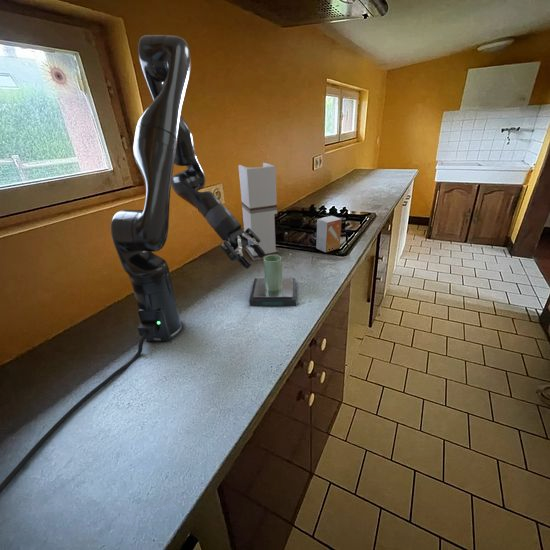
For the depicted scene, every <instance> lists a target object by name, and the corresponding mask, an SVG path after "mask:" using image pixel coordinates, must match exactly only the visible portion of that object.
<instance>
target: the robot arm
mask: <svg viewBox="0 0 550 550" xmlns="http://www.w3.org/2000/svg"><path fill="white" fill-rule="evenodd" d="M137 52H138V59H139V63H140V67H141V70H142V73H143V76H144V79H145V82H146V85H147V88H148V90H149V92H150V95H151V98H152V100H153V101H152V102H151V103H150V104H149V105H148V106H147V107H146V108H145V110H144V111H143V112H142V113H141V115H140V117H139V118H138V120H137V123H136V126H135V132H134V138H133V145H132V153H133V154H132V155H133V157H134V160H135V163H136V166H137V168H138V170H139V172H140V174H141V177H142V179H143V181H144V185H145V186H144V187H145V200H144V205H143V206H144V207H143V209H121V210H119V211H117V212H115V214H114V215H113V216H112V218H111V222H110V236H111V239H112V243H113V246H114V248H115V251H116V253H117V257H118V259H119V261H120V264H121V267H122V269H123V270H124V272H125V273H126V274H127V275H128V277H129V280H130V285H131V288H132V291H133V295H134V299H135V302H136V305H137V308H138V310H137V314H138V317H139V321H140V324H139V325H138V326H137V332H138V335H139V337H141V338H140V340H139V343H138V349H137V352H136V353H135V355H134V356H133V357H132V358H131V359H130V360H129V361H128V362H126V363H125V364H124V365H122V366H120V368H118V369H117V370H115V371H114V372H113V373H112V374H110V375H109V376H108V377H107V378H105V380H103V381H102V382H100V384H98V385H97V386H96V387H94V388H93V389H92V390H91V391H90V392H88V393H87V394H86V395H85V396H83V397H82V398H81V399H80V400H79V401H78V402H77V403H75V405H73V406H72V407H71V408H70V409H69V410H68V411H67V412H66V413H65V414H63V416H62V417H61V418H60V419H59V420H58V421H57V422H56V423H55V424H54V425H53V426H52V427H51V428H50V429H49V430H48V431H47V432H46V433H45V434H44V435H43V436H42V437H41V439H39V441H37V443H36V444H35V445H34V446H33V447H32V448H31V449H30V450H29V452H28V453H27V454H26V455H25V456H24V457H23V458H22V459H21V461H20V462H19V463H18V464H17V465H16V466H15V467H14V468H13V469H12V471H11V472H10V473H9V474H8V475H7V476H6V478H5V479H4V480H2V482H1V483H0V494H1V493H2V492H3V491H4V489H5V488H6V487H7V486H8V485H9V484H11V482H12V481H13V479H14V478H15V477H16V476H17V475H18V474H19V473H20V472H21V470H22V469H23V468H24V467H25V466H26V465H27V463H28V462H29V461H30V460H31V459H32V457H33V456H34V455H35V454H36V452H38V450H39V449H40V448H41V447H42V446H43V445H44V444H45V443H46V442H47V441H48V439H50V437H52V436H53V434H54V433H56V431H57V430H58V429H59V428H60V427H61V426H62V425H63V424H64V423H65V422H66V421H67V420H68V419H69V418H70V417H71V416H72V415H73V414H74V413H75V412H76V411H77V410H78V409H79V408H80V407H81V406H83V405H84V404H85V403H86V402H87V401H88V400H89V399H90V398H91V397H93V396H94V395H95V394H96V393H97V392H99V391H100V390H101V389H102V388H104V387H105V386H106V385H107V384H109V383H110V382H111V381H112V380H113V379H114V378H116V377H117V376H118V375H120V374H121V373H122V372H123V371H125V370H126V369H128V368H129V367H130V366H131V365H132V364H133V363H134V362H136V360H137V359H139V357H140V356H141V354H142V352H143V347H144V346H143V345H144V343H145V340H146V342H170V341H171V339H172V338H174V337H176V336H177V335H179V333H180V332H181V331H182V329H183V324H182V321H181V316H180V313H179V307H178V303H177V299H176V295H175V290H174V287H173V281H172V277H171V272H170V268H169V264H168V262H167V260H166V259H165V258H163V257H161V256H159V255H157V254H156V253H154V252H159V251H160V250H162V249H163V248H164V247H165V245H166V242H167V240H168V236H169V235H168V234H169V225H170V205H171V202H170V201H171V190H173V191H174V193H175V194H176V195H177V196H178V197H179V198H181V199H183V200H184V201H185V202H187V204H189V205H191V206H192V207H194V208H195V209H196V210H197V211H198V212H199V214H201V215H202V216H203V217H204V219H205V221H206V223H208V225H209V227H211V228H212V230H213V231H214V232H215V234H217V235H218V237H219V238H220V239H221V240H222V241H223V242H222V243H221V245H220V248H221V249H222V251H223V252H224V253H225V254H226V255H227V257H228V258H229V260H230V261H232V262H234V261H238V262H239V263H240V264H241V265H242V267H243V268H245V269H249V268H250V267H251V266H252V263H251V262H250V261H249V259H248V258H247V257H246V256H245V255H244V253H243V248H246V247H250V248H252V249H254V251H255V252H256V253H257V255H258V256H259V257H260V258H262V257H263V256H264V255H265V252H264V251H263V250H262V249H261V247H260V246H259V242H260V239H259V238H258V237H257V236H256V235H255V234H254V233H253V231H252V230H251V229H250V228H247V229H246V230H245V231H244V229H242V224H241V222H239V220H238V219H237V218H236V217H235V216H234V214H232V212H231V211H230V210H229V209H228V208H227V207H226V206H225V205H224V204H223V203H222V202H221V201H220V199H219V198H218V197H217V196H216V195H215V194H214V193H213V192H212V191H211V190H209V191H208V190H206V191H201V190H202V189H204V187H205V185H206V175H205V173H204V171H203V169H202V166H201V164H200V162H199V160H198V158H197V155H196V150H195V144H194V139H193V138H194V137H193V134H192V131H191V129H190V127H189V125H188V123H187V122H186V120H185V119H184V118H183V116H182V110H183V106H184V101H185V98H186V93H187V88H188V85H189V81H190V76H191V68H192V55H191V50H190V47H189V44H188V42H187V41H186V40H185V39H184V38H183V37H181V36H177V35H169V34H144V35H142V36H141V37H140V38H139V41H138V44H137ZM174 165H176V166H178V167H186V169H185V170H182V171H180V172H178V173H175V174H174V175H173V173H174V167H175V166H174ZM253 238H254V239H255V240H256V241H255V240H254V239H253ZM252 244H253V245H252Z"/></svg>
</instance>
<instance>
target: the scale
mask: <svg viewBox="0 0 550 550" xmlns="http://www.w3.org/2000/svg"><path fill="white" fill-rule="evenodd" d="M296 281H297V279H296V277H282V288H281V289H280V290H277V291H269V290H267V289H266V288H265V277H255V278H254V280H253V284H252V286H251V287H252V288H251V293H250V296H249V300H248V301H249V306H250V307H278V306H279V307H282V306H283V307H290V306H291V307H295V306H297V282H296Z"/></svg>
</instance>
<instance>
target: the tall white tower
mask: <svg viewBox="0 0 550 550" xmlns="http://www.w3.org/2000/svg"><path fill="white" fill-rule="evenodd" d="M276 168H277V167H276V165H273V164H270V163H267V162H262V166H259V167H249V166H244V165H242V164H238V175H239V186H240V187H239V188H240V198H241V199H240V200H241V209H242V222H243V231H245V230H246V229H247V228H250V229H251V230H252V231H253V233H254V234H255V235H256V236H257V237H258V238H259V239H260V242H259V246H260V247H261V249H262V250H263V251H264V252H265V255H264V256H263V257H262V258H260V257H259V256H258V255H257V253H256V252H255V251H254V249H252V248H250V247H246V246H245V251H246V253H247V254H248V255H249V257H250V258H251V259H252V260H253V261H255V262H256V261H260V260H264V257H265V256H267V255H279V256H280V254H279V250H278V249H277V248H276V246H277V245H276V219H275V215H277V214H278V199H277V198H278V197H277V194H278V193H277V169H276ZM253 239H254V238H253ZM254 240H255V239H254ZM255 241H256V240H255ZM252 245H253V244H252Z"/></svg>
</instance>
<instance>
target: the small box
mask: <svg viewBox="0 0 550 550" xmlns="http://www.w3.org/2000/svg"><path fill="white" fill-rule="evenodd" d="M342 221H343V219H342V218H340V217H337V216H335V215H328V216H324V217H321V218H317V219H316V239H315V241H316V243H315V248H316V249H317V250H319V251H321V252H323V253H329V252H331V251H335V250H338V249H340V247H341V234H342ZM332 248H333V249H332ZM329 249H330V250H329Z"/></svg>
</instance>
